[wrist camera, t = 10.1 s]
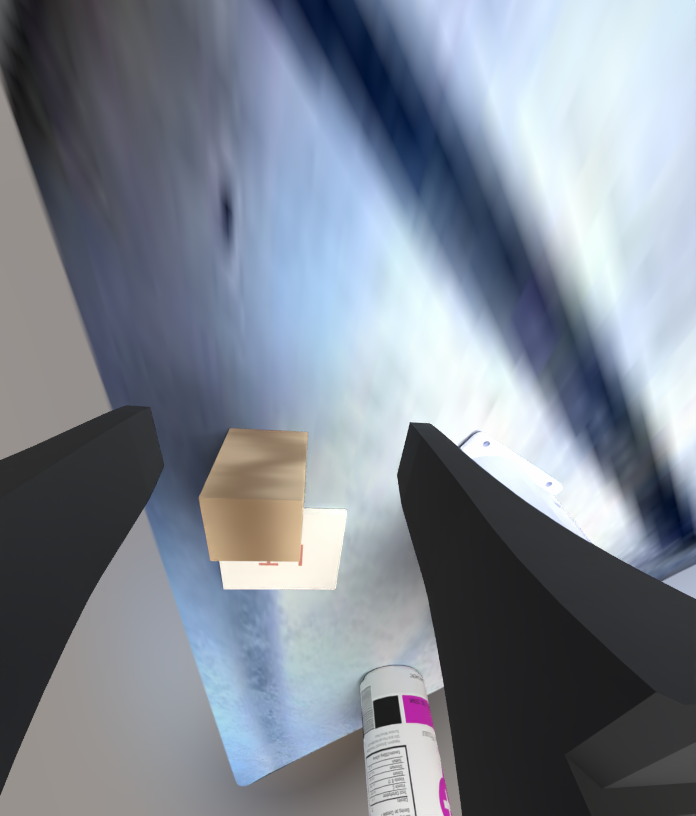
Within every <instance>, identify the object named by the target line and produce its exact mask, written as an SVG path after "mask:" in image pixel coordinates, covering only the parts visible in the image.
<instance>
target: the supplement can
mask: <svg viewBox="0 0 696 816" xmlns="http://www.w3.org/2000/svg"><path fill="white" fill-rule="evenodd" d="M360 695H361V709H362V723H363V737H364V752H365V765H366V780H367V792H368V793H367V794H368V808H369V816H452V813H451V808H450V803H449V799H448V794H447V789H446V784H445V779H444V775H443V770H442V765H441V760H440V756H439V751H438V746H437V742H436V736H435V732H434V727H433V722H432V717H431V712H430V707H429V703H428V698H427V693H426V688H425V684H424V680H423V677H422V676H421V675H419V674H418V673H417V671H416V670H415V669H413V668H411V667H407V666H398V665H393V666H385V667H381V668H378V669H375V670H373V671H371V672H369V673H368V674H367V675H366V676H365V678H364V681H363V682H362V683H361V685H360Z"/></svg>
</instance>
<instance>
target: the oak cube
mask: <svg viewBox="0 0 696 816" xmlns="http://www.w3.org/2000/svg"><path fill="white" fill-rule="evenodd" d="M307 443H308V432H296V431H277V430H257V429H238V428H230V429H229V431H228V434H227V436H226V438H225V440H224V443H223V445H222V447H221V449H220V451H219V454H218V456H217V458H216V460H215V463H214V465H213V467H212V469H211V471H210V474H209V476H208V478H207V480H206V483H205V485H204V487H203V489H202V491H201V494H200V496H199V502H200V507H201V513H202V518H203V524H204V529H205V534H206V540H207V545H208V551H209V556H210V561H275V562H300V551H301V538H302V525H303V512H304V498H305V484H306V464H307Z"/></svg>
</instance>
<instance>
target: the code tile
mask: <svg viewBox="0 0 696 816" xmlns="http://www.w3.org/2000/svg"><path fill="white" fill-rule="evenodd" d="M346 518H347V510H346V509H319V508H304V512H303V525H302V538H301V551H300V562H275V561H219V562H220V569H221V575H222V581H223V588H224V589H301V590H336V583H337V577H338V570H339V563H340V557H341V550H342V544H343V537H344V531H345V524H346Z"/></svg>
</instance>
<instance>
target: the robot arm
mask: <svg viewBox="0 0 696 816" xmlns="http://www.w3.org/2000/svg"><path fill="white" fill-rule="evenodd" d="M485 441H487V442H486V443H484V442H485ZM483 443H484V444H483ZM163 467H164V463H163V459H162V454H161V450H160V446H159V442H158V438H157V434H156V429H155V425H154V421H153V417H152V413H151V409H150V407H142V406H124V407H121V408H118V409H115V410H113V411H110V412H108V413H105V414H103V415H101V416H99V417H97V418H94V419H92V420H90V421H87V422H85V423H83V424H81V425H79V426H77V427H74V428H72V429H70V430H68V431H66V432H63V433H61V434H59V435H57V436H55V437H52V438H50V439H48V440H46V441H44V442H42V443H39V444H37V445H35V446H33V447H30V448H28V449H25V450H23V451H21V452H19V453H16V454H14V455H12V456H9V457H7V458H5V459H2V460H0V795H1V792H2V790H3V787H4V785H5V782H6V780H7V777H8V775H9V772H10V770H11V767H12V764H13V762H14V760H15V757H16V755H17V753H18V750H19V748H20V746H21V743H22V741H23V739H24V736H25V734H26V732H27V729H28V727H29V725H30V722H31V720H32V718H33V715H34V713H35V711H36V709H37V706H38V704H39V702H40V699H41V697H42V695H43V693H44V690H45V688H46V686H47V684H48V682H49V679H50V678H51V675H52V673H53V671H54V669H55V667H56V665H57V663H58V660H59V658H60V656H61V654H62V652H63V650H64V648H65V645H66V643H67V641H68V639H69V637H70V635H71V633H72V631H73V629H74V627H75V625H76V623H77V621H78V619H79V617H80V615H81V613H82V611H83V609H84V607H85V605H86V602H87V601H88V599H89V597H90V595H91V593H92V592H93V590H94V588H95V587H96V585H97V583H98V581H99V580H100V578H101V576H102V574H103V573H104V571H105V570H106V568H107V566H108V565H109V563H110V562H111V560H112V558H113V557H114V555H115V554H116V552H117V550H118V549H119V547H120V546H121V544H122V542H123V541H124V539H125V538H126V536H127V534H128V533H129V531H130V530H131V528H132V526H133V525H134V523H135V522H136V520H137V518H138V517H139V515H140V513H141V512H142V510H143V509H144V507H145V505H146V504H147V502H148V500H149V499H150V497H151V494H152V492H153V490H154V488H155V486H156V484H157V481H158V479H159V477H160V474H161V472H162V469H163ZM397 478H398V485H399V492H400V498H401V504H402V508H403V512H404V515H405V519H406V522H407V526H408V529H409V533H410V536H411V539H412V543H413V546H414V550H415V553H416V556H417V560H418V563H419V566H420V570H421V573H422V577H423V580H424V584H425V588H426V592H427V596H428V601H429V606H430V611H431V616H432V622H433V627H434V632H435V637H436V643H437V648H438V654H439V660H440V666H441V671H442V677H443V683H444V689H445V696H446V702H447V709H448V715H449V722H450V727H451V734H452V742H453V749H454V756H455V764H456V771H457V779H458V786H459V794H460V801H461V809H462V816H696V599H695V598H693V597H691V596H688V595H686V594H684V593H682V592H680V591H679V590H677V589H675V588H673V587H671V586H669V585H667V584H665V583H663V582H661V581H659V580H657V579H655V578H653V577H651V576H649V575H647V574H646V573H644V572H642V571H640V570H638V569H636V568H634V567H633V566H631V565H629V564H627V563H625V562H623V561H621V560H620V559H618V558H616V557H614V556H612V555H611V554H609V553H607V552H606V551H604V550H602V549H600V548H599V547H597V546H595V545H594V544H592V543H591V541H590V540H589V539H588V538H587V536H586V535H585V534H584V533H583V531H582V530H581V529H580V528H579V526H578V525H577V524H576V523H575V522H574V520H573V519H572V518H571V517H570V515H569V514H568V513H567V512H566V510H565V509H564V508H563V507H562V505H561V504H560V503H559V502H558V500H557V499H556V498H555V497H554V496H555V495H556V494H558V493H559V492H560V491H561V490H562V489H563V486H562V484H561V483H560V482H559V481H557V480H555V479H554V478H552V477H551V476H549V475H548V474H546V473H545V472H543V471H542V470H540V469H539V468H537V467H536V466H534V465H533V464H531V463H530V462H528V461H527V460H525V459H524V458H522V457H521V456H519V455H517V454H516V453H514V452H513V451H511V450H510V449H508V448H507V447H505V446H504V445H502V444H501V443H499V442H498V441H496V440H495V439H493V438H492V437H490V436H489V435H487V434H486V433H484V432H478V433H476V434H474V435H473V436H472V437H471V438H470V439H469V440H468V441H467V442H466V443H465V444H464V445H463V446H461V447H460V448H459V447H458V446H456V445H455V444H454V443H453V442H452V441H451V440H450V439H448V438H447V437H446V436H445V435H444V434H443V433H442V432H440V431H439V430H438V429H437V428H435V427H434V426H433V425H432V424H429V423H412V422H410V425H409V429H408V433H407V437H406V441H405V445H404V449H403V453H402V457H401V461H400V465H399V469H398V473H397Z"/></svg>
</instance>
